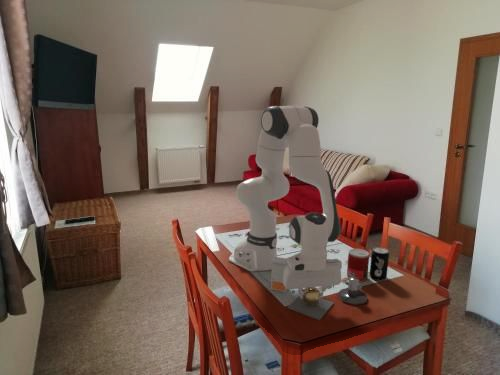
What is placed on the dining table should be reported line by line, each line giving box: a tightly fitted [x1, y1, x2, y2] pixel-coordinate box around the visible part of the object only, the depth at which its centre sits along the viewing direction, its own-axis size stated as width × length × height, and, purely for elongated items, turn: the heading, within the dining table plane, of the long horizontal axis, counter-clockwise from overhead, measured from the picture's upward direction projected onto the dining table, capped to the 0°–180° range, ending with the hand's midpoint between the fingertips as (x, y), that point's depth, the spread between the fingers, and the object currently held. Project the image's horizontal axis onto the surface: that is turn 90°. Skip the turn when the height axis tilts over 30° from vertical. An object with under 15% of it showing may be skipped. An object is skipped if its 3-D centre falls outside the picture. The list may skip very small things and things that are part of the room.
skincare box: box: [270, 256, 288, 293], centre depth 140 cm, size 6×4×12 cm
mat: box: [287, 295, 335, 321], centre depth 130 cm, size 12×12×1 cm
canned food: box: [346, 248, 370, 282], centre depth 149 cm, size 8×8×11 cm
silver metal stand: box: [338, 277, 368, 306], centre depth 135 cm, size 10×10×8 cm
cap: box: [303, 287, 320, 305], centre depth 129 cm, size 5×5×4 cm
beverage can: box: [369, 246, 390, 281], centre depth 149 cm, size 7×7×12 cm
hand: (311, 296), depth 129 cm, fingers closed on cap, 5 cm apart
